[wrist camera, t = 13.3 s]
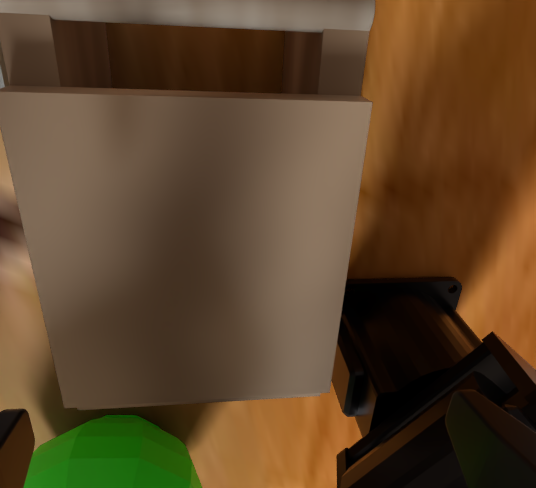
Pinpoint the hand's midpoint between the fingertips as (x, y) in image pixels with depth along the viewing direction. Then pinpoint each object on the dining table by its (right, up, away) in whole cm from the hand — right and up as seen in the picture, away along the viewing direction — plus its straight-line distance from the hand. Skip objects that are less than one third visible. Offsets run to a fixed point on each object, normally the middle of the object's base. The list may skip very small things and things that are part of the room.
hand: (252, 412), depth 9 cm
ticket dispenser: (-3, +7, +10) cm, 12 cm away
